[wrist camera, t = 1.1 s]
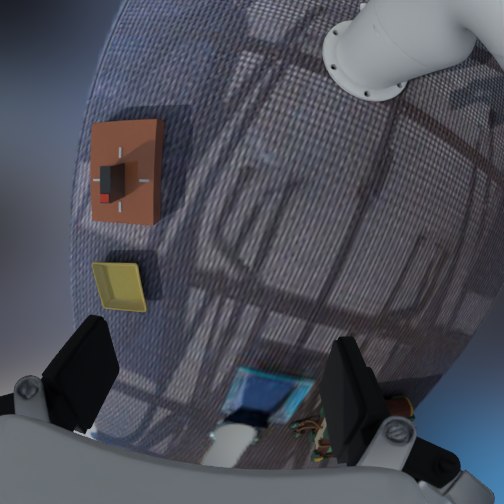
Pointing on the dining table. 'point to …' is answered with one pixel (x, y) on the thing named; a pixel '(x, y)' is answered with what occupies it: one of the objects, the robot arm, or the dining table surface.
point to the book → (320, 434)
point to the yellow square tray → (119, 286)
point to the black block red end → (112, 182)
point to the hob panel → (129, 169)
